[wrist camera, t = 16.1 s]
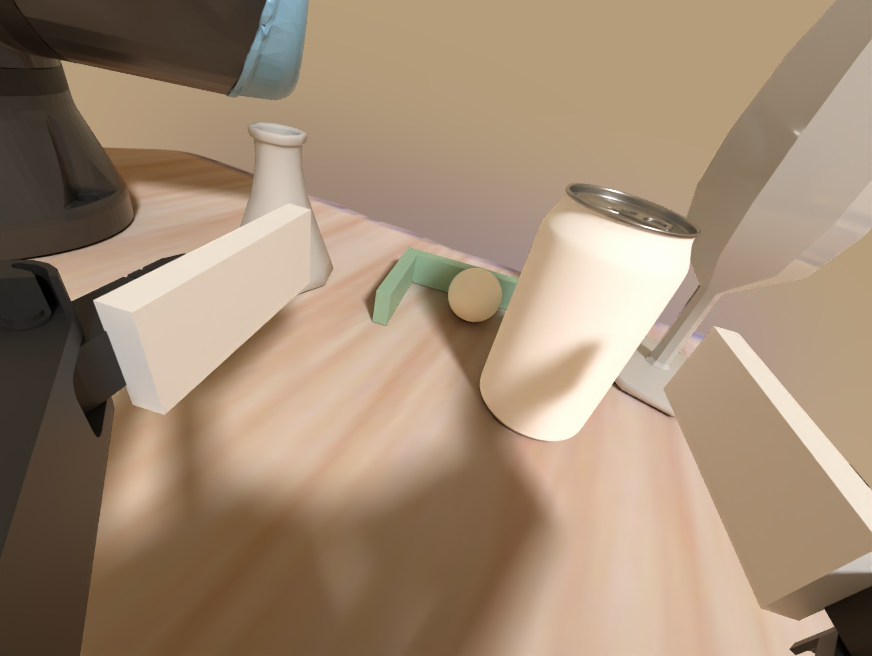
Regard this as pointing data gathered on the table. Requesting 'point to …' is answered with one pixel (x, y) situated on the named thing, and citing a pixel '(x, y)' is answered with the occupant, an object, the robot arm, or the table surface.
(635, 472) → the table surface
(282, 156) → the flask
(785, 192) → the wineglass
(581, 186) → the can
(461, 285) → the ball
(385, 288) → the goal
